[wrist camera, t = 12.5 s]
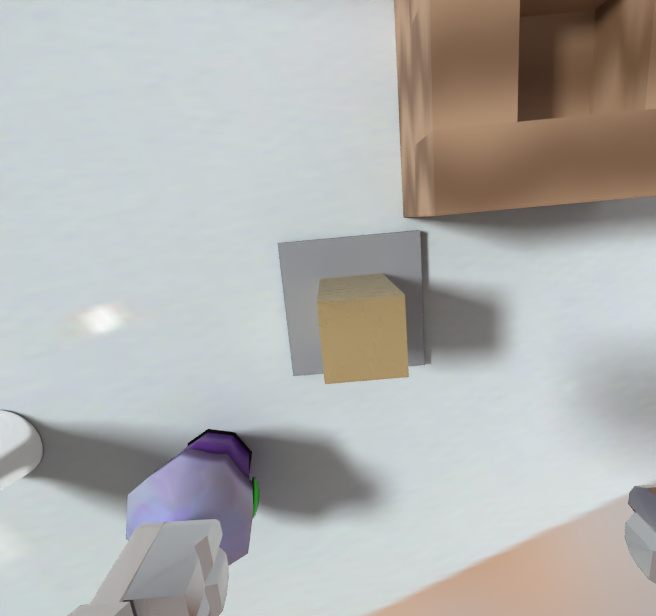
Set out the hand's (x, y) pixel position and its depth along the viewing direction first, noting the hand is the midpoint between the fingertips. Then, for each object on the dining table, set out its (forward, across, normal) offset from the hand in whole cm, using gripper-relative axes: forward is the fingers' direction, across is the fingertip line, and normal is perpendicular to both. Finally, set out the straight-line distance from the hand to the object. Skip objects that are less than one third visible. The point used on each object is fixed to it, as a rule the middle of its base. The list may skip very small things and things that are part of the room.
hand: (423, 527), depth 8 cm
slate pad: (+21, 0, 0) cm, 21 cm away
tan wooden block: (+20, 0, 0) cm, 21 cm away
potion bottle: (+21, +12, +12) cm, 27 cm away
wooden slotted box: (+21, -11, -12) cm, 27 cm away
